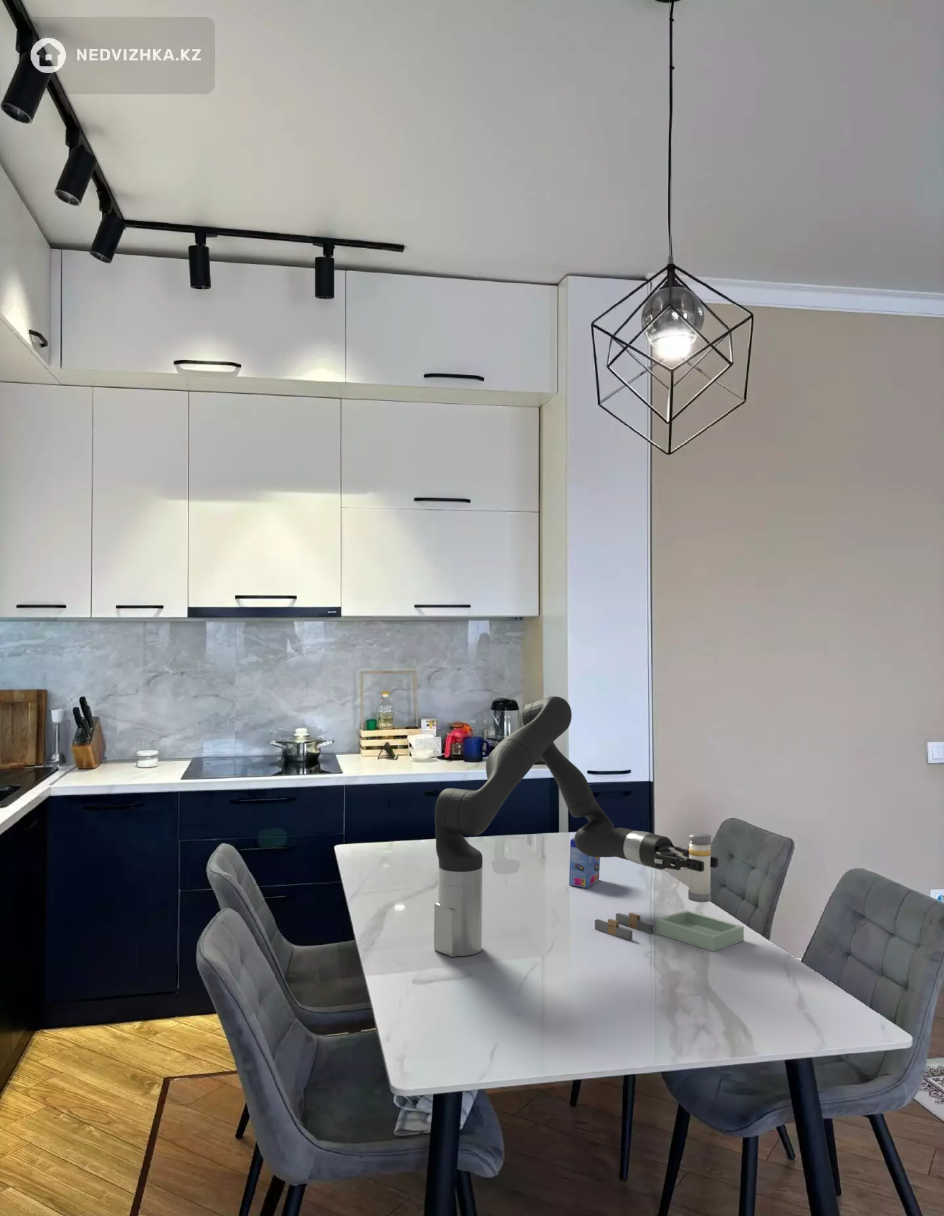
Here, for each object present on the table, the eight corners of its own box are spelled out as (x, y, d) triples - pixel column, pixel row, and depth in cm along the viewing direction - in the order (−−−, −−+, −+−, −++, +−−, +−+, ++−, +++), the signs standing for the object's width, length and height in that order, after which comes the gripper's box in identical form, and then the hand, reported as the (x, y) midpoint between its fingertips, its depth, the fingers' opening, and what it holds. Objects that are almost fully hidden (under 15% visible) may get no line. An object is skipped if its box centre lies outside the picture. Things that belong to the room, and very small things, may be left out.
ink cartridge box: (588, 889, 237) (588, 833, 237) (568, 886, 239) (568, 830, 240) (601, 880, 245) (601, 825, 246) (581, 877, 248) (582, 823, 248)
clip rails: (629, 941, 197) (629, 927, 197) (594, 929, 205) (594, 915, 205) (653, 933, 203) (653, 919, 203) (618, 921, 210) (618, 908, 210)
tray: (713, 951, 191) (713, 937, 191) (656, 933, 202) (656, 919, 203) (743, 940, 198) (743, 926, 198) (686, 923, 210) (686, 910, 210)
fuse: (702, 903, 197) (702, 838, 198) (683, 898, 201) (684, 834, 201) (715, 899, 200) (715, 835, 201) (696, 894, 204) (697, 831, 204)
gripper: (628, 838, 207) (690, 853, 194) (667, 829, 216) (729, 842, 203) (628, 871, 207) (690, 888, 194) (667, 860, 216) (729, 876, 203)
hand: (710, 865), depth 199 cm, fingers closed on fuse, 4 cm apart
